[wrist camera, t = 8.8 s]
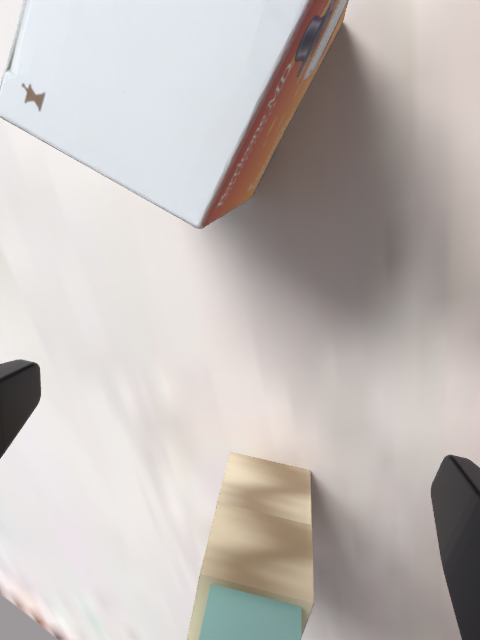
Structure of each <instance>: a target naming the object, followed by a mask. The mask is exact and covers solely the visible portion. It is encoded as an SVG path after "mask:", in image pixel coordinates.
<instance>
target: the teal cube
mask: <svg viewBox="0 0 480 640" xmlns="http://www.w3.org/2000/svg"><path fill="white" fill-rule="evenodd" d="M199 640H301V606H297V605H293V604H289V603H285V602H281V601H277V600H274V599H270V598H266V597H262V596H258V595H254V594H250V593H246V592H242V591H238V590H235V589H231V588H227V587H223V586H219V585H215V584H211V585H210V590H209V594H208V599H207V603H206V608H205V612H204V617H203V622H202V626H201V631H200V635H199Z"/></svg>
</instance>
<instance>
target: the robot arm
mask: <svg viewBox="0 0 480 640" xmlns="http://www.w3.org/2000/svg"><path fill="white" fill-rule="evenodd" d="M40 397H41V380H40V367H39V365H38V364H37V363H35V362H30V361H26V360H15V361H11V362H7V363H2V364H0V458H1V457H2V456H3V454H4V453H5V452H6V450H7V449H8V447H9V446H10V444H11V443H12V441H13V440H14V439H15V437H16V436H17V434H18V433H19V431H20V430H21V428H22V427H23V425H24V424H25V423H26V421H27V420H28V418H29V417H30V415H31V414H32V412H33V411H34V409H35V408H36V407H37V405H38V403H39V401H40ZM431 499H432V505H433V511H434V518H435V524H436V530H437V536H438V542H439V549H440V555H441V560H442V565H443V570H444V574H445V578H446V582H447V586H448V589H449V593H450V597H451V601H452V604H453V608H454V612H455V615H456V619H457V623H458V626H459V630H460V634H461V637H462V640H480V468H479V467H478V466H477V465H475V464H474V463H473V462H472V461H471V460H469V459H467V458H463V457H458V456H454V455H447V456H446V457H445V458H444V459H443V461H442V463H441V465H440V467H439V470H438V472H437V474H436V476H435V478H434V481H433V483H432V486H431Z"/></svg>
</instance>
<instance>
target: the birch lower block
mask: <svg viewBox="0 0 480 640" xmlns="http://www.w3.org/2000/svg"><path fill="white" fill-rule="evenodd" d="M218 502H221V503H225V504H229V505H233V506H237V507H241V508H245V509H249V510H253V511H257V512H261V513H265V514H269V515H273V516H277V517H281V518H285V519H289V520H293V521H297V522H301V523H305V524H309V525H312V519H311V471H310V470H306V469H301V468H297V467H293V466H289V465H284V464H280V463H276V462H272V461H267V460H263V459H259V458H255V457H250V456H246V455H242V454H238V453H233V452H230V454H229V458H228V462H227V466H226V469H225V473H224V477H223V481H222V485H221V489H220V493H219V497H218V501H217V504H218ZM216 508H217V506H216ZM215 512H216V511H215Z"/></svg>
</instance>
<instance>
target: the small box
mask: <svg viewBox="0 0 480 640" xmlns="http://www.w3.org/2000/svg"><path fill="white" fill-rule="evenodd" d="M348 1H349V0H23V5H22V9H21V13H20V17H19V21H18V25H17V29H16V33H15V36H14V40H13V44H12V47H11V51H10V55H9V59H8V62H7V65H6V67H5V70H4V73H3V76H2V80H1V83H0V118H2V119H4V120H6V121H8V122H9V123H11V124H13V125H15V126H17V127H18V128H20V129H22V130H24V131H25V132H27V133H29V134H31V135H33V136H34V137H36V138H38V139H40V140H41V141H43V142H45V143H47V144H49V145H50V146H52V147H54V148H56V149H57V150H59V151H61V152H63V153H65V154H66V155H68V156H70V157H72V158H74V159H75V160H77V161H79V162H81V163H82V164H84V165H86V166H88V167H90V168H91V169H93V170H95V171H97V172H98V173H100V174H102V175H104V176H105V177H107V178H109V179H111V180H113V181H114V182H116V183H118V184H120V185H121V186H123V187H125V188H127V189H128V190H130V191H132V192H134V193H135V194H137V195H139V196H141V197H143V198H144V199H146V200H148V201H150V202H151V203H153V204H155V205H157V206H158V207H160V208H162V209H164V210H166V211H167V212H169V213H171V214H173V215H174V216H176V217H178V218H180V219H181V220H183V221H185V222H187V223H189V224H190V225H192V226H193V227H195V228H198V229H202V228H204V227H205V226H207V225H209V224H210V223H212V222H213V221H215V220H216V219H218V218H220V217H222V216H223V215H225V214H226V213H228V212H229V211H231V210H233V209H234V208H236V207H237V206H239V205H241V204H242V203H244V202H246V201H247V200H249V199H250V198H252V196H253V194H254V192H255V190H256V188H257V186H258V184H259V182H260V180H261V178H262V176H263V174H264V172H265V170H266V168H267V166H268V164H269V162H270V160H271V158H272V156H273V154H274V152H275V150H276V148H277V146H278V144H279V142H280V140H281V138H282V136H283V134H284V132H285V131H286V129H287V127H288V125H289V123H290V121H291V119H292V118H293V116H294V114H295V112H296V110H297V108H298V106H299V104H300V103H301V101H302V99H303V97H304V95H305V93H306V91H307V90H308V88H309V86H310V84H311V82H312V80H313V78H314V76H315V74H316V73H317V71H318V69H319V67H320V65H321V63H322V61H323V59H324V57H325V56H326V54H327V52H328V50H329V48H330V46H331V44H332V42H333V40H334V39H335V37H336V35H337V33H338V31H339V29H340V27H341V25H342V22H343V20H344V16H345V11H346V8H347V4H348Z"/></svg>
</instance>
